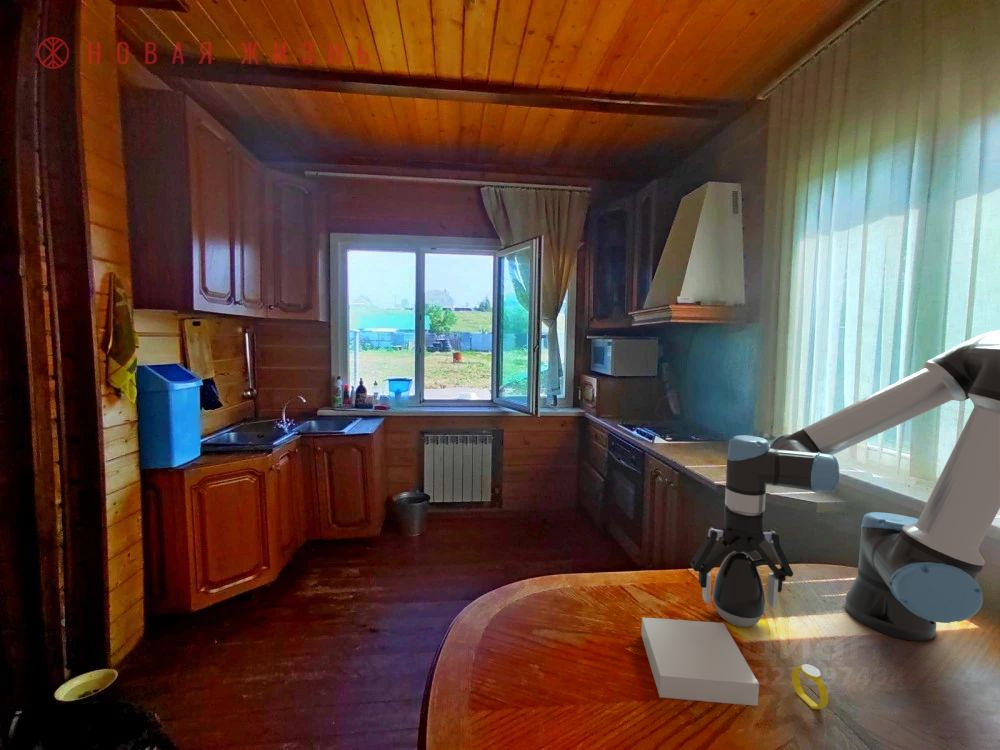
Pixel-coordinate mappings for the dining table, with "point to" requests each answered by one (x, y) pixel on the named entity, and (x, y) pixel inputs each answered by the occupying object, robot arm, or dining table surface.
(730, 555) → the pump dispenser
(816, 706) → the watch
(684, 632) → the ceramic base
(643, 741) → the dining table surface
